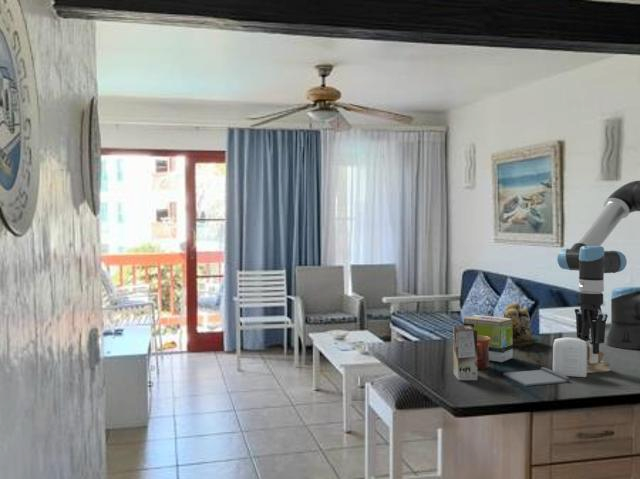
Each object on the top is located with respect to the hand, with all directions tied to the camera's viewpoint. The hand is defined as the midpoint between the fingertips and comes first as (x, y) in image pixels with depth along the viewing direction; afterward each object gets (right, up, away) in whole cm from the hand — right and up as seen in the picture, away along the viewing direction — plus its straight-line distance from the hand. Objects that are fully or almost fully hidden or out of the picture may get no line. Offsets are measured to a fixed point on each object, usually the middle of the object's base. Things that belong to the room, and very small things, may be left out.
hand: (589, 361), depth 194 cm
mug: (-36, -3, +4) cm, 37 cm away
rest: (-1, -3, 0) cm, 3 cm away
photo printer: (-9, -3, -6) cm, 12 cm away
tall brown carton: (-3, +2, -1) cm, 3 cm away
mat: (-22, -3, -9) cm, 24 cm away
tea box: (-29, -3, +19) cm, 35 cm away
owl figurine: (-11, -2, +40) cm, 41 cm away
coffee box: (-43, -4, -6) cm, 44 cm away
